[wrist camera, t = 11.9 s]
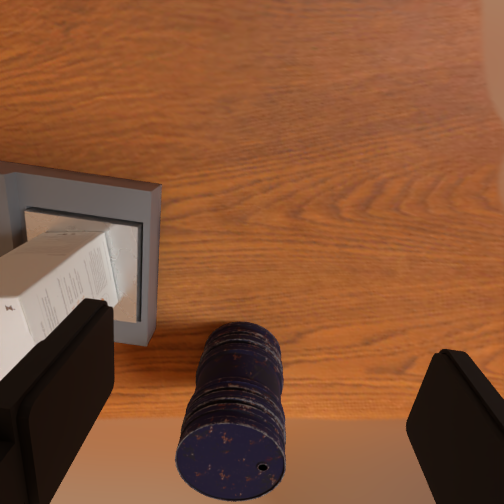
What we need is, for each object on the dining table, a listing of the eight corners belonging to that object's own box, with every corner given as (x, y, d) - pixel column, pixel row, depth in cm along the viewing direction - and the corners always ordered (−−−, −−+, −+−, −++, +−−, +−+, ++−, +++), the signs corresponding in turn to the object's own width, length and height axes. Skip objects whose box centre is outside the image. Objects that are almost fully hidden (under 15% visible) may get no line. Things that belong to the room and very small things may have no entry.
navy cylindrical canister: (202, 381, 47) (173, 496, 33) (203, 317, 43) (172, 416, 29) (278, 388, 47) (281, 507, 33) (286, 324, 43) (294, 428, 29)
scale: (-16, 158, 37) (-57, 166, 33) (161, 184, 37) (146, 195, 33) (5, 307, 44) (-25, 331, 39) (155, 328, 44) (142, 354, 40)
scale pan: (42, 203, 37) (24, 211, 35) (147, 218, 37) (137, 227, 35) (50, 295, 42) (35, 308, 39) (145, 308, 42) (136, 323, 39)
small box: (43, 231, 35) (-75, 296, 23) (105, 230, 35) (19, 295, 23) (61, 303, 38) (-35, 393, 26) (119, 303, 38) (49, 394, 26)
